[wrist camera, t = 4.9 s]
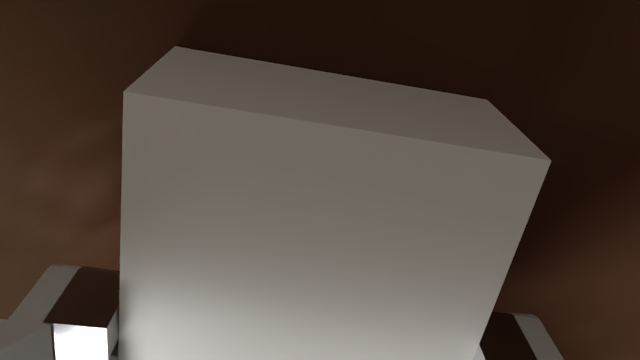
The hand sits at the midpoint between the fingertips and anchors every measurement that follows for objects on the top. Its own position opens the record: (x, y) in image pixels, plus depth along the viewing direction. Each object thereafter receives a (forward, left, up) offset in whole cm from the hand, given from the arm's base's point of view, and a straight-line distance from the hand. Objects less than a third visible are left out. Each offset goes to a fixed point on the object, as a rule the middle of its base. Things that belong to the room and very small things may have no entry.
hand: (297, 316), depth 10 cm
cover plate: (0, +3, -2) cm, 3 cm away
